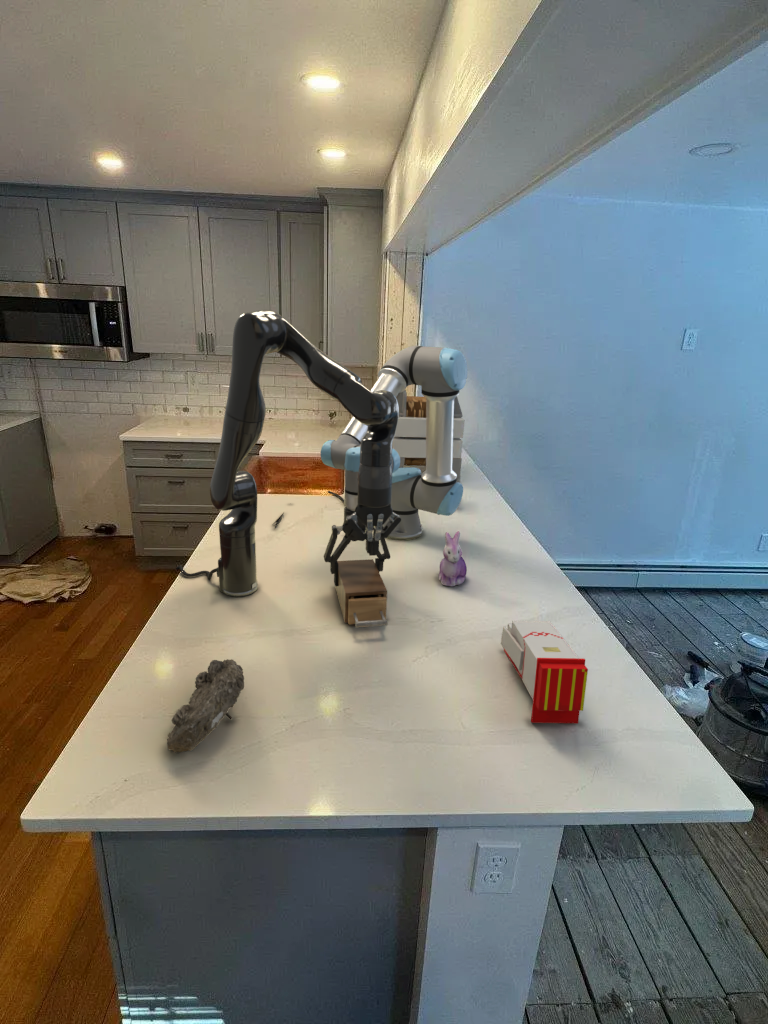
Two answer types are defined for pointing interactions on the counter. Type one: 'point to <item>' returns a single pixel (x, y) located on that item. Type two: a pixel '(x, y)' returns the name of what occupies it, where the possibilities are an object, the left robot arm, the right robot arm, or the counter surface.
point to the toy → (547, 670)
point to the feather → (278, 520)
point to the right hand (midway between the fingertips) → (356, 582)
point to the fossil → (206, 705)
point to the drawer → (367, 610)
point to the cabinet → (358, 582)
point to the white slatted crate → (422, 432)
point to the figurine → (452, 562)
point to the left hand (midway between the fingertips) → (372, 554)
